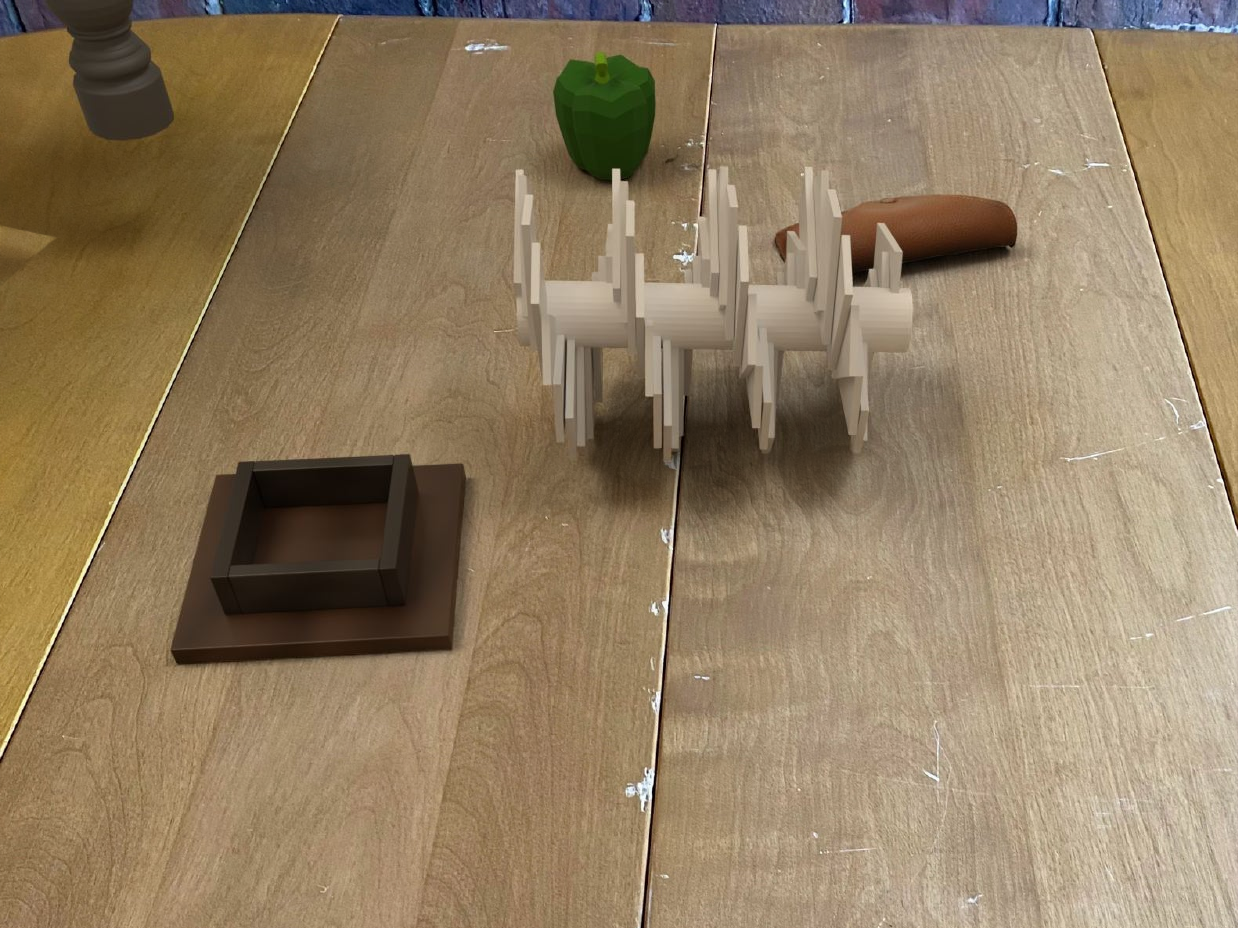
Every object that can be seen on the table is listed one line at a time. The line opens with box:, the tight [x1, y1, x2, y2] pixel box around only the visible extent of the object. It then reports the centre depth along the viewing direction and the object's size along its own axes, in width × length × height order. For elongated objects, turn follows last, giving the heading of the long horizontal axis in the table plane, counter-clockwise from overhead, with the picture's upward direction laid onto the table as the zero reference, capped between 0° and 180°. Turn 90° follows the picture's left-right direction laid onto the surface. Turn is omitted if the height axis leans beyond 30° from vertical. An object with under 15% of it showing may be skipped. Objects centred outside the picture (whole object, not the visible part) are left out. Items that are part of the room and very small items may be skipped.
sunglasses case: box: [774, 193, 1018, 275], centre depth 110 cm, size 18×7×7 cm
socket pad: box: [169, 453, 467, 665], centre depth 86 cm, size 16×16×4 cm
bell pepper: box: [552, 51, 657, 181], centre depth 115 cm, size 8×8×10 cm
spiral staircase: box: [513, 165, 914, 463], centre depth 89 cm, size 18×18×25 cm
